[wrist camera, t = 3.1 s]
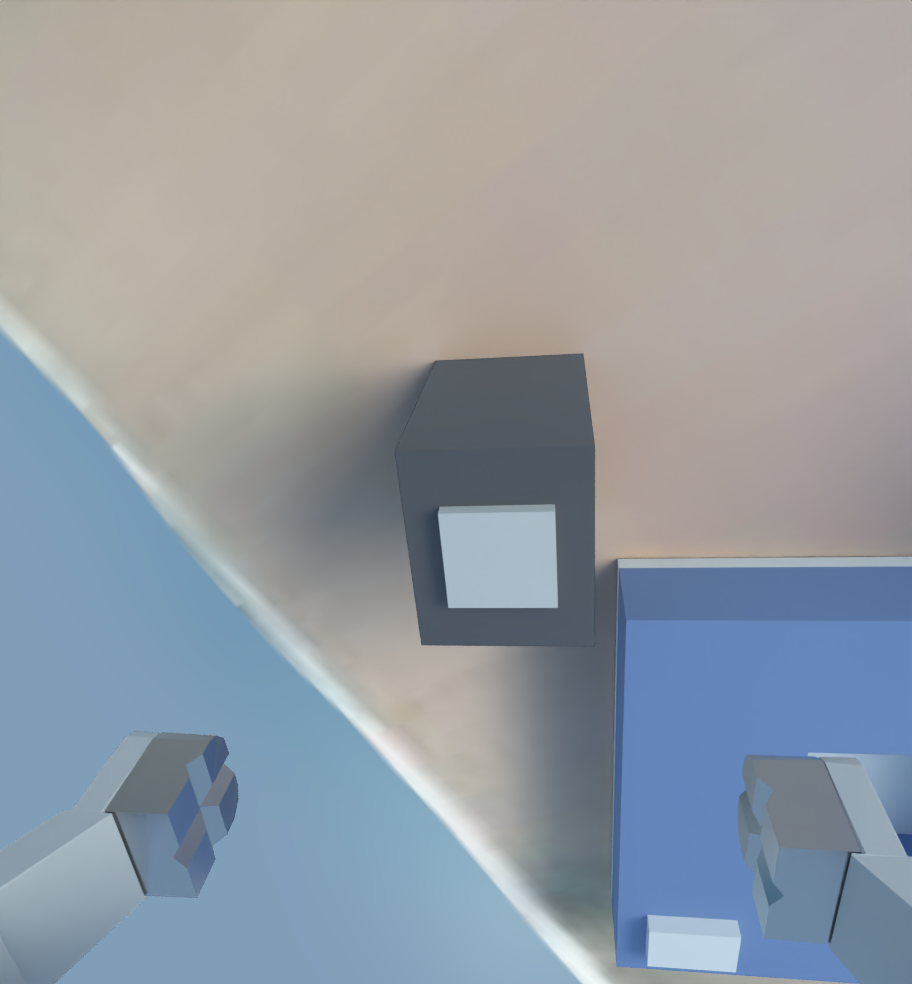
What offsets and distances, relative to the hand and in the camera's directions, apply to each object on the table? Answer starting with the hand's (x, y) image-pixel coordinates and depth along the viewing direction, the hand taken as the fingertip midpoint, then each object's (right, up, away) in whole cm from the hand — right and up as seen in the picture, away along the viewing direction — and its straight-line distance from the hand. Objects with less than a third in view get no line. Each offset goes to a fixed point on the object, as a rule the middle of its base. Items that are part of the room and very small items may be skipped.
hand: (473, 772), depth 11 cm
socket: (+13, -5, +13) cm, 19 cm away
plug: (+1, +6, +10) cm, 11 cm away
